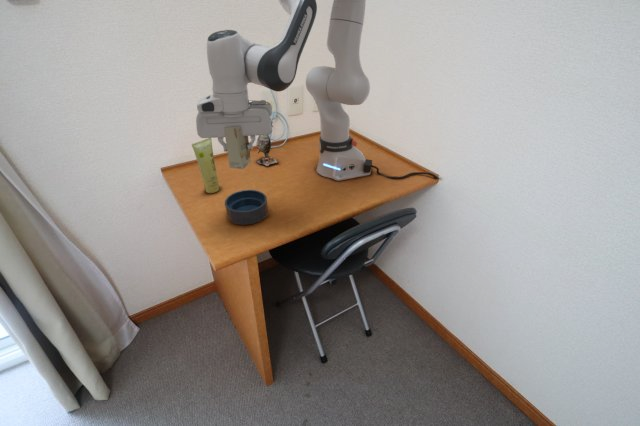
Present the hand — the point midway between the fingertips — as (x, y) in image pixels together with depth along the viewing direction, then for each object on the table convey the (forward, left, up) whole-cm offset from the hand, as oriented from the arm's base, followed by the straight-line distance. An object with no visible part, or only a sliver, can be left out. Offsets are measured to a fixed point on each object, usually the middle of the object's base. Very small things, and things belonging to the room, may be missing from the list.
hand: (238, 150), depth 91 cm
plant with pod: (-8, -39, -23) cm, 46 cm away
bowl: (0, 0, -23) cm, 23 cm away
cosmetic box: (0, 0, -5) cm, 5 cm away
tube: (+13, -18, -23) cm, 32 cm away
